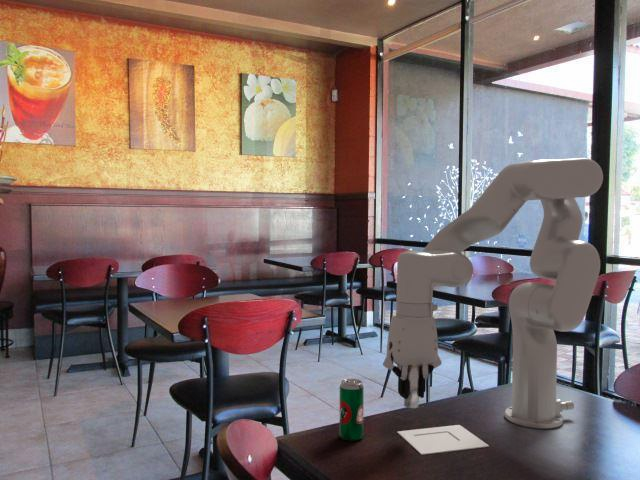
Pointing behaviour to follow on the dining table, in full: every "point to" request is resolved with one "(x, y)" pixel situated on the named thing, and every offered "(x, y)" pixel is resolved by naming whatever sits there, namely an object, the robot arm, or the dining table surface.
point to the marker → (413, 386)
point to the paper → (442, 439)
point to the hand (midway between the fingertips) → (411, 395)
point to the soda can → (351, 409)
